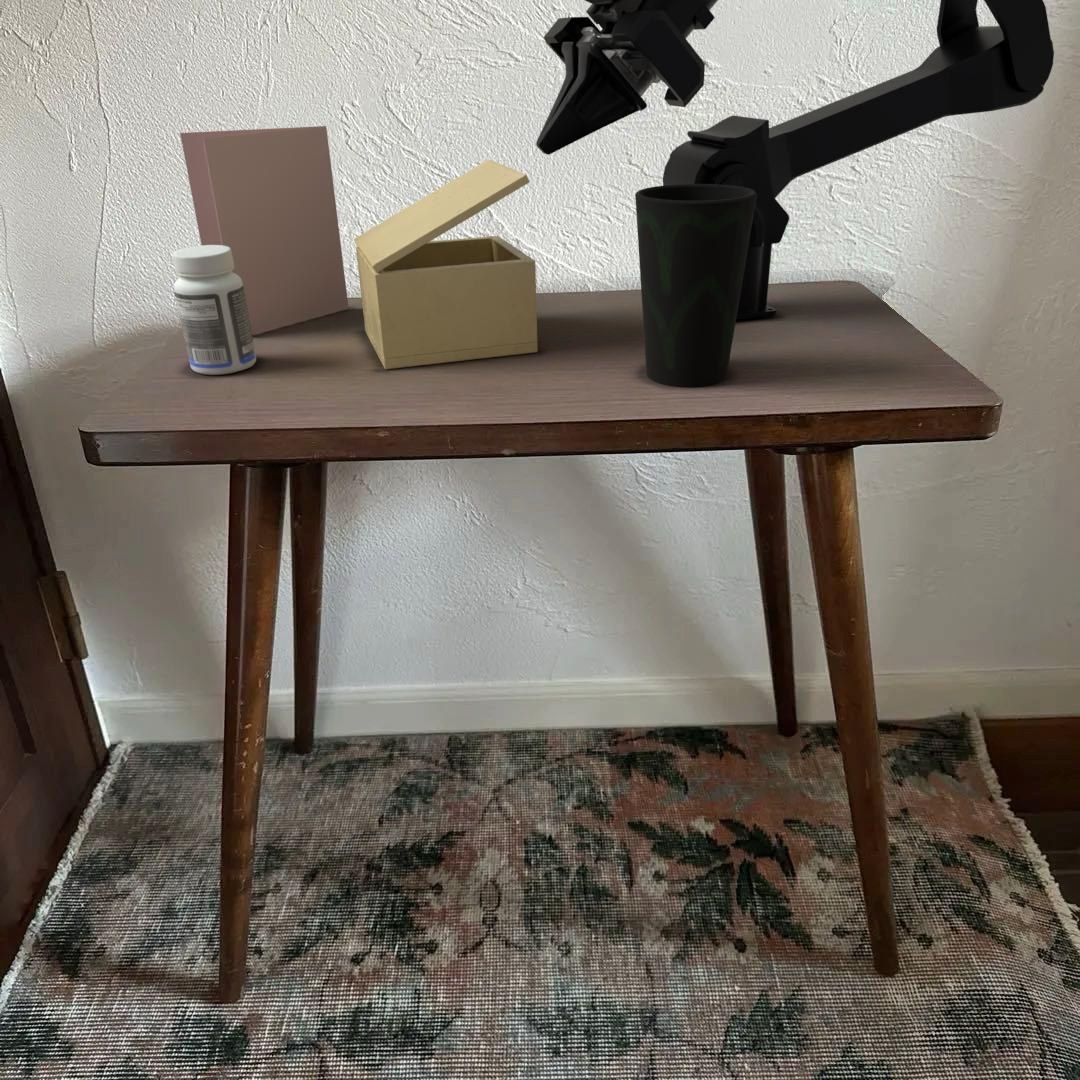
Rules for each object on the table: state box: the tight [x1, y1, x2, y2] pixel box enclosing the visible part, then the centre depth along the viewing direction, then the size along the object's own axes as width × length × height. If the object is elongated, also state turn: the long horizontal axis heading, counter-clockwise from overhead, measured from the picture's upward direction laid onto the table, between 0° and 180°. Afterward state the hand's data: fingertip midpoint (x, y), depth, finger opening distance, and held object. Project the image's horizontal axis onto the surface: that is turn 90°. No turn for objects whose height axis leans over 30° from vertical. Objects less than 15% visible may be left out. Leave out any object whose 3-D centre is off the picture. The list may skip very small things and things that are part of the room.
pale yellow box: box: [355, 235, 539, 370], centre depth 72 cm, size 12×11×7 cm
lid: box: [353, 159, 530, 273], centre depth 69 cm, size 12×11×1 cm
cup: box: [634, 184, 757, 388], centre depth 62 cm, size 8×8×12 cm
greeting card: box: [179, 125, 350, 336], centre depth 77 cm, size 11×7×15 cm, turn 105°
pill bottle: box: [171, 245, 257, 376], centre depth 68 cm, size 5×5×8 cm
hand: (541, 150), depth 69 cm, fingers closed
